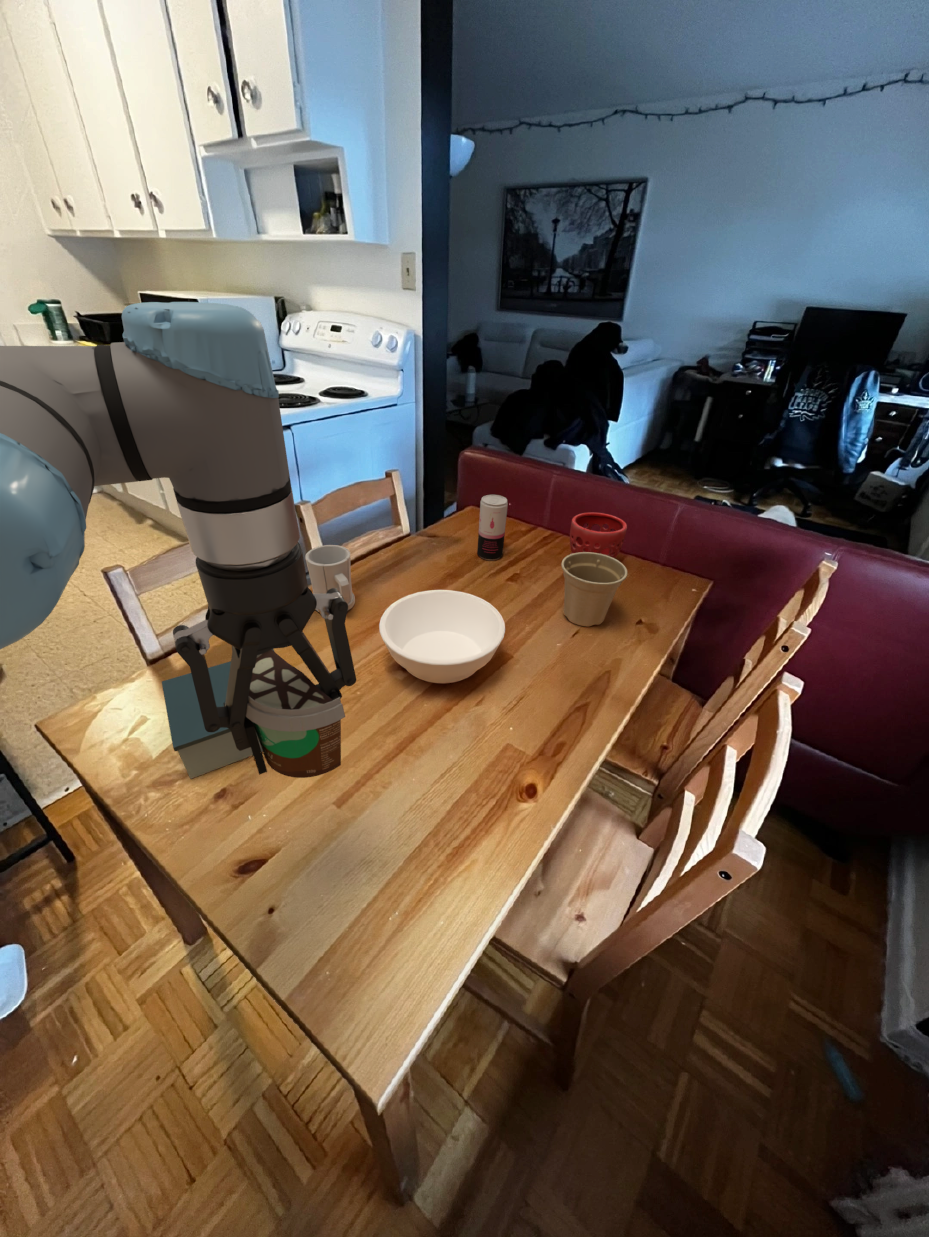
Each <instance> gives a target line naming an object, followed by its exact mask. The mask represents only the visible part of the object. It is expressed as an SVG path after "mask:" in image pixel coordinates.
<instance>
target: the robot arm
mask: <svg viewBox="0 0 929 1237" xmlns="http://www.w3.org/2000/svg"><path fill="white" fill-rule="evenodd" d="M121 320H122V321H121V322H122V326H123V333H122V338H123V339H122V340H123V341H122V342H120V341H119V342H111V343H110V344H97V345H0V650H2V649H5V648H7V647H8V646H11V645H13V644H14V643H17V642H19V641H20V640H22V639H24V638H25V637H27V636H28V635H29V634H31V633H32V632H34V631H35V630H36V629H37V628H38V627H39V626H40V625H42V624H44V622H45V620H46V619H47V618H48V617H49V616H50V615H51V614H52V612H53V611H54V609H55V608H56V606H57V605H58V604H59V601H60V599H61V597H62V596H63V594H64V591H65V589H66V587H67V586H68V583H69V581H70V579H71V578H72V576H73V575H74V572H75V571H76V570H77V568H78V566H79V565H80V559H81V557H82V556H83V554H84V551H85V546H86V545H85V542H86V541H85V540H86V539H85V538H86V536H85V534H86V533H85V532H86V530H87V515H88V510H89V505H90V503H91V501H92V500H91V499H92V497H93V494H94V489H95V487H100V486H111V485H119V484H128V483H135V482H145V481H146V482H148V481H152V480H154V479H163V478H164V479H165V478H167V479H169V481H170V484H171V485H172V487H173V488H172V490H173V493H174V497H175V500H176V505H177V508H178V511H179V514H180V518H181V520H182V521H181V522H182V523H183V527H184V530H185V531H184V532H185V533H186V534H185V535H186V537H187V541H188V543H189V547H190V550H191V552H192V553H193V555H194V556H195V557H196V558H195V566H196V569H197V573H198V576H199V579H200V582H201V586H202V590H203V593H204V596H205V599H206V602H207V603H206V604H207V610H206V613H205V617H204V618H205V619H203V620H202V621H200V622H197V623H196V624H194V625H192V626H190V627H189V626H188V625H185V624H180V625H177V626H175V627H174V628H173V629H172V637H173V641H174V647H175V651H176V653H177V654H178V655H179V656H180V657H181V659H182V660H183V661H184V662H185V663H186V665H187V666H188V667H189V669H190V673H191V674H192V678H193V682H194V686H195V690H196V694H197V698H198V702H199V706H200V710H201V714H202V718H203V722H204V726H205V730H206V731H207V732H215V731H217V730H219V728H222V727H225V728H229V729H230V730H231V733H232V736H233V739H234V742H235V745H236V748H237V749H238V750H239V751H242V750H244V749H247V748H250V747H251V749H252V753H253V755H252V756H253V759H254V762H255V765H256V768H257V773H258V775H263V774H265V773H267V772H268V769H267V766H266V763H265V759H264V754H263V752H261V748H260V745H259V741H258V738H257V734H256V731H255V727H254V724H253V722H252V721H251V720H250V719H248V718H247V717H246V716H245V715H246V709H247V703H248V696H249V690H250V684H251V678H252V672H253V668H255V665H256V659H257V655H260V654H263V653H266V652H268V651H269V650H271V649H274V650H275V649H284V648H288V647H290V646H291V647H292V648H293V649H294V651H295V652H296V654H297V655H298V656H299V657H300V659H301V660H302V661H303V663H304V665H305V666H306V668H307V669H308V670H309V671H310V673H311V674H312V676H313V677H314V679H315V680H316V681H317V683H316V684H315V685H316V686H317V687H318V688H319V689H320V690H321V691H322V692H324V693H325V694H326V695H327V696H328V697H330V698H331V699H333V700H335V699H337V698H339V697H340V700H341V699H342V697H343V694H342V692H341V689H343V688H344V687H352V686H355V684H356V682H357V674H356V671H355V666H354V665H355V664H354V661H353V656H352V651H351V646H350V642H349V637H348V631H347V627H346V619H347V614H348V611H349V610H348V604H347V602H346V601H345V599H344V598H343V596H342V595H341V594H340V592H339V591H338V590H337V589H336V588H331V589H329V590H328V591H327V593H326V594H313V590H311V589H310V588H309V584H308V578H307V573H306V566H305V560H304V559H305V558H304V554H303V548H302V545H301V543H300V542H299V540H300V538H301V535H300V534H301V533H300V529H299V528H300V527H299V524H298V522H299V521H298V517H297V511H296V504H295V499H294V494H293V488H292V482H291V476H290V475H291V474H290V469H289V460H288V454H287V448H286V441H285V435H284V427H283V421H282V414H281V408H280V401H279V400H280V399H279V398H280V396H279V395H280V394H279V392H280V391H279V389H278V388H277V385H276V382H275V381H276V380H275V376H274V373H273V368H272V363H271V357H270V352H269V349H268V343H267V338H266V334H265V329H264V327H263V325H262V322H261V321H260V320H259V319H258V318H257V317H256V316H255V315H254V314H253V313H252V312H250V311H249V310H247V309H246V308H244V307H242V306H238V305H235V304H234V305H233V304H227V303H219V302H218V303H216V302H202V301H200V302H198V301H170V302H160V301H148V302H146V301H145V302H138V303H137V302H136V303H131V304H129V305H127V306H125V307H124V308H123V310H122V311H121ZM315 609H318V611H319V612H318V611H317V612H318V613H319V615H320V616H321V618H322V619H323V620H324V623H325V627H326V632H327V635H328V640H329V645H330V648H331V652H332V657H333V661H334V665H335V669H334V670H332V671H331V672H330V671H329V669H328V668H327V666H326V665H325V663H324V662H323V660H322V659H321V657H320V656H319V654H318V653H317V651H316V649H315V648H314V647H313V645H312V643H311V642H310V640H309V639H308V638H307V636H306V634H305V633H304V629H305V628H306V626H307V624H308V623H309V621H310V619H311V617H312V616H313V614H314V613H315V611H316V610H315ZM213 636H214V637H216V638H217V639H219V640H221V641H223V642H225V643H226V644H228V645H230V646H231V657H230V658H231V659H230V661H231V665H230V672H229V679H228V687H227V694H226V701H225V703H223V705H224V706H223V707H216V702H215V698H214V693H213V689H212V684H211V680H210V675H209V671H208V668H209V667H208V663H207V658H206V654H207V653H208V651H209V649H210V647H211V645H210V638H211V637H213Z"/></svg>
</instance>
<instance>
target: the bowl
mask: <svg viewBox="0 0 929 1237" xmlns="http://www.w3.org/2000/svg"><path fill="white" fill-rule="evenodd" d="M379 620H380V621H379V624H378V628H379V634H380V636H381V640H382V641H383V643H384V646H385V647H386V649H387V650H388V653H389V654H390V656H391V657H392V659H393V660H394V661H395V662H396V664H398V665H399V666H400V667H402V668H404V669H405V670H406V671H407V672H408V673H409V674H411V675H412V676H413V677H414V678H417V679H419V680H422V681H425V682H428V683H433V684H450V683H451V684H453V683H457V682H461V681H463V680H465V679H468V678H470V677H471V676H472V675H474V674H475V673H476V672H477V671H478V670H480V669H481V668H483V667H485V666H486V665H487V663H489V662H490V661H491V659H492V658H493V657H494V655H495V653H496V652H497V650H498V648H499V647H500V645H501V643H502V642H503V639H504V637H505V635H506V634H505V633H506V622H505V621H504V618H503V616H502V614H501V613H500V612H499V610H498V609H497V608H496V607H495V606H494V605H492V603H490V602H488V601H487V600H485V599H483V598H481V597H479V596H477V595H475V594H472V593H468V592H463V591H459V590H452V589H432V590H430V589H429V590H423V591H417V592H414V593H411V594H408V595H405V596H403V597H401V598H399V599H397V600H396V601H394V602H393V603H391V604H390V605H389V606H388V607H387V608H386V609H385V610H384V612H383V614H382V615H381V617H380V619H379Z"/></svg>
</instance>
